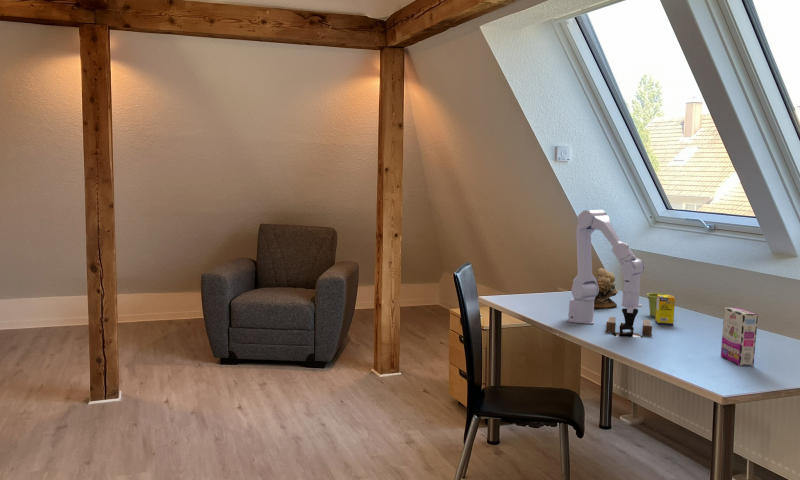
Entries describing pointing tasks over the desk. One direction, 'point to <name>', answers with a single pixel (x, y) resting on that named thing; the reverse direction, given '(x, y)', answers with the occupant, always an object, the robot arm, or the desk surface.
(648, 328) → the wooden rail pair
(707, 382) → the desk surface
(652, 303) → the plant pot
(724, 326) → the candy bar box
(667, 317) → the supplement box
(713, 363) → the desk surface
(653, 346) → the desk surface
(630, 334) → the black bracket
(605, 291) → the tan lumpy statue
